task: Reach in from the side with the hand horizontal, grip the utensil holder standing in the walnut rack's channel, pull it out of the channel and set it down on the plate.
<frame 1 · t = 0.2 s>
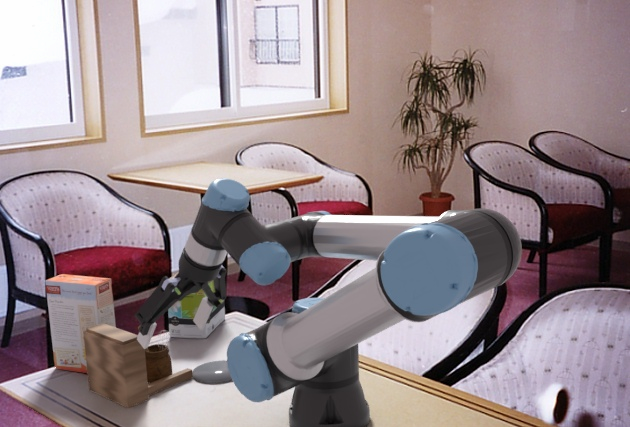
hand: (170, 334, 159), 15 cm above the table, tool tilted 35°, fingers open, 13 cm apart
plate: (218, 373, 176), on the table
utensil holder: (158, 379, 175), on the table
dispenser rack: (154, 380, 174), on the table
cracker box: (87, 369, 182), on the table
tea box: (198, 329, 205), on the table
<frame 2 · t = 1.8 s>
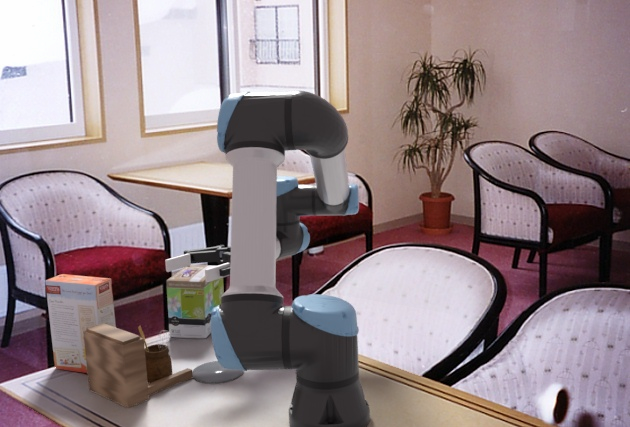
hand: (185, 270, 177), 22 cm above the table, tool horizontal, fingers open, 13 cm apart
nothing on the table moved.
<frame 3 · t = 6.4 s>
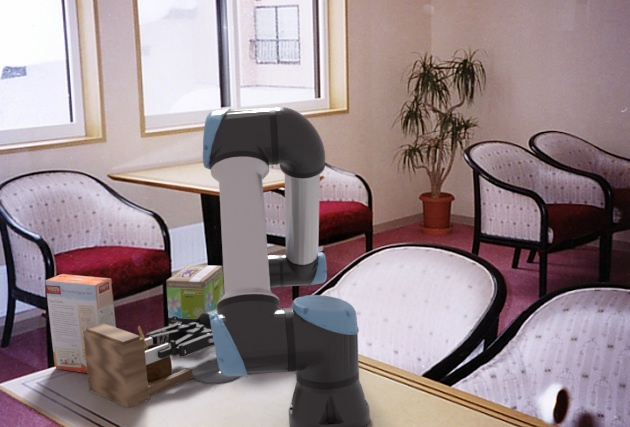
hand: (135, 355, 169), 7 cm above the table, tool horizontal, fingers closed on utensil holder, 5 cm apart
utensil holder: (158, 379, 175), on the table, touching gripper
everything else where it was.
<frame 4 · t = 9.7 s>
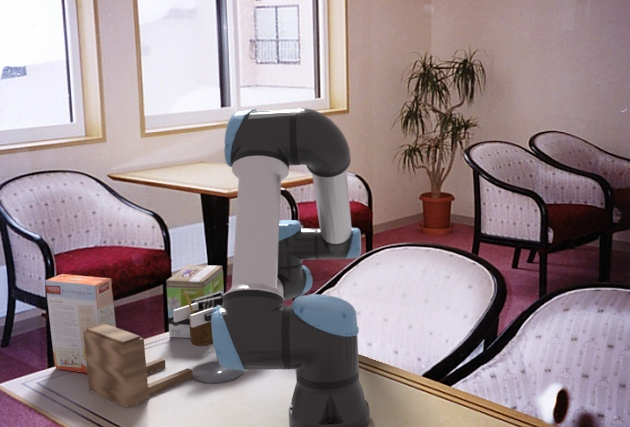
hand: (182, 318, 178), 11 cm above the table, tool horizontal, fingers closed on utensil holder, 5 cm apart
utensil holder: (203, 343, 183), point 4 cm above the table, touching gripper
everything else where it was.
when the fingers open (9 cm above the table, at t = 12.8 s): utensil holder drops 1 cm, resting on plate.
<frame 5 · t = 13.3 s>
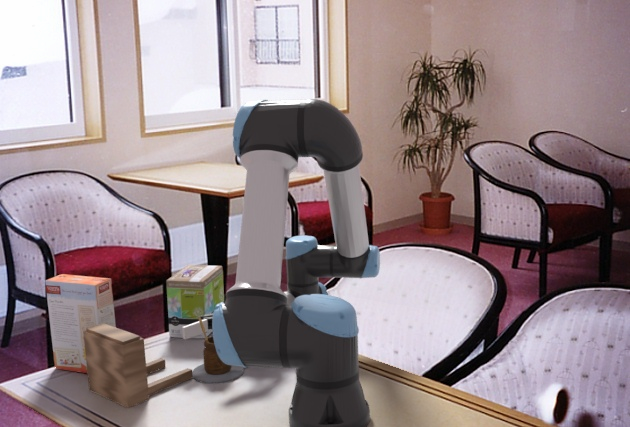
hand: (202, 339, 172), 9 cm above the table, tool horizontal, fingers open, 12 cm apart
utensil holder: (217, 370, 176), resting on plate
everything else where it was.
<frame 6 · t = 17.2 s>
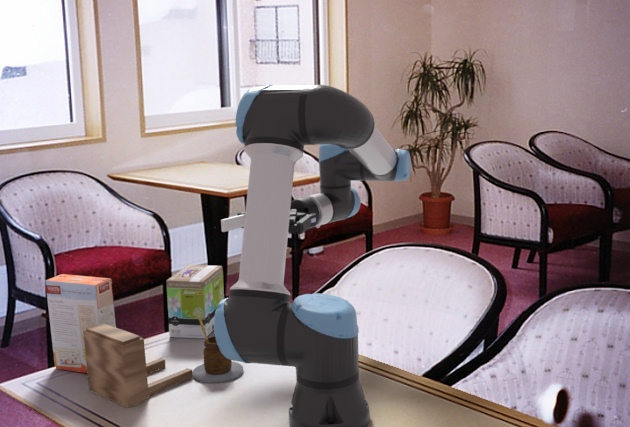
hand: (242, 229, 177), 30 cm above the table, tool horizontal, fingers open, 13 cm apart
nothing on the table moved.
at the end: utensil holder 0.2 cm from the plate (horizontally); utensil holder tilted 0°; utensil holder resting on plate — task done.
